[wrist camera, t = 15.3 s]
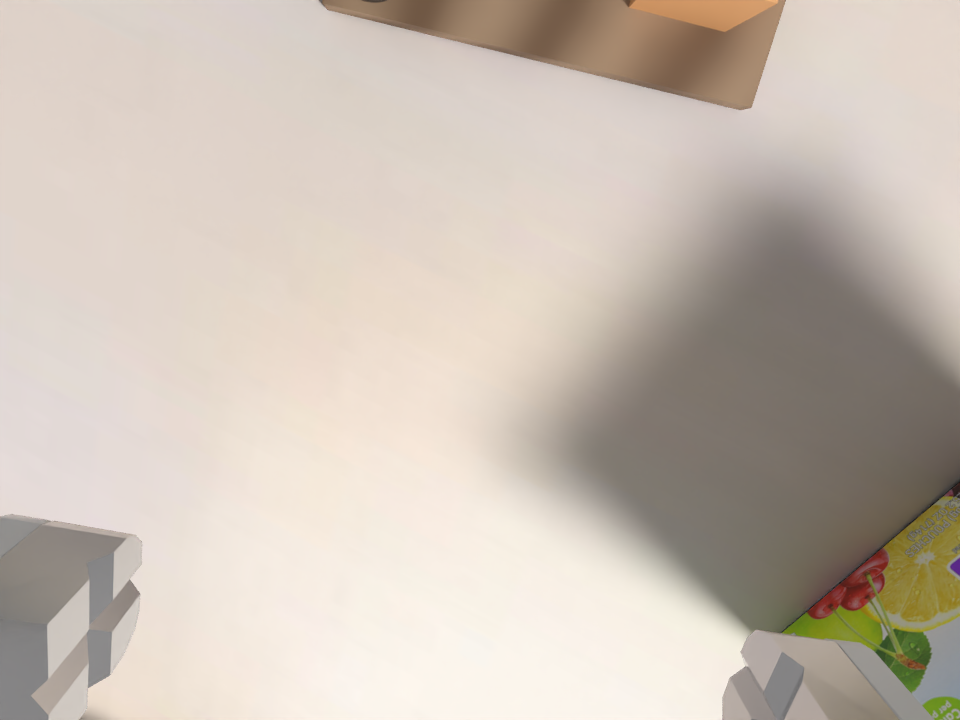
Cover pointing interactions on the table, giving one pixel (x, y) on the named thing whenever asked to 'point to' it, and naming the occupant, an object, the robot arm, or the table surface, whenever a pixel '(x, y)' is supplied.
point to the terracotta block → (705, 11)
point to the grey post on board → (598, 40)
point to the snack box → (905, 608)
